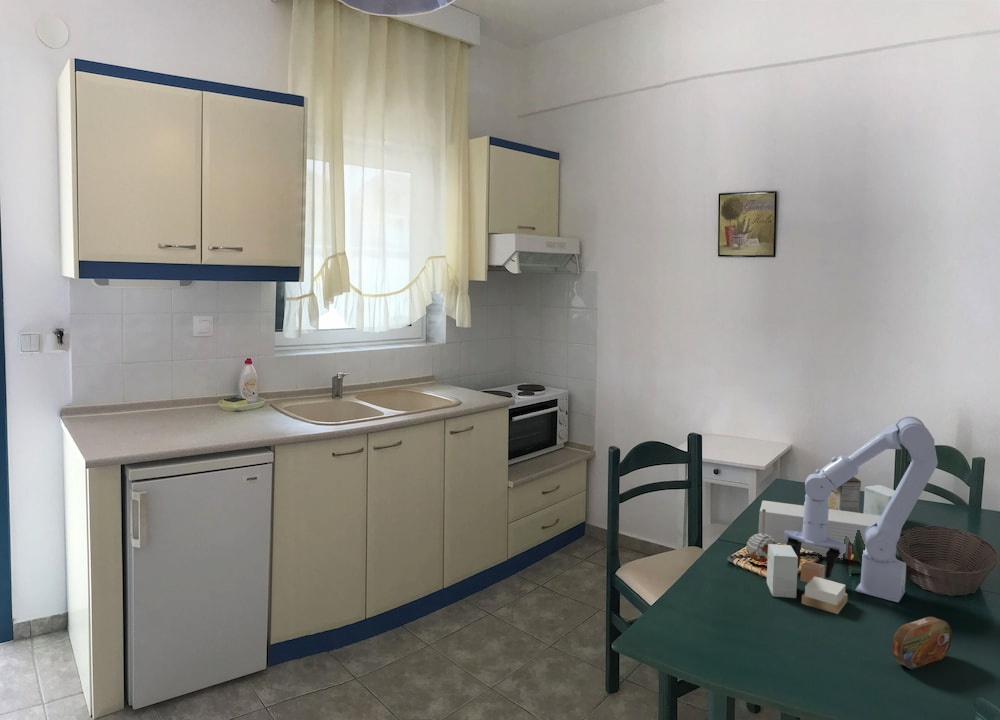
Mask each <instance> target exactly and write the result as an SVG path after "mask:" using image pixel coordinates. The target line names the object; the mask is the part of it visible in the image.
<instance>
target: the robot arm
mask: <svg viewBox="0 0 1000 720" xmlns="http://www.w3.org/2000/svg"><path fill="white" fill-rule="evenodd" d="M901 445H902V446H903V447H904V448H905V449H906V450H907V451H908V453H909V456H910V457H911V462H910V464H909V465H908V467H907V468H906V469H905V470H906V471H905V472H904V474H903V475H902V478H901V479H900V482H899V483H898V485H897V487H896V489H895V492H894V494H893V496H892V497H891V499H890V501H889V503H888V505H887V506H886V508H885V510H884V512H883V514H882V515H881V516H880V517H878V518H877V520H876V522H875V523H874V524H873V525H871V526H870V527H868V528H867V529H866V531H865V533H864V538H865V541H866V544H867V546H866V549H865V550H863V554H862V562H861V568H860V569H861V571H860V572H861V573H860V583H858V585H857V586H856V588H855V591H856V592H858V593H861V594H865V595H868V596H871V597H872V596H873V597H876V598H880V599H882V600H883V599H884V600H887V601H891V602H895V603H899V602H900V601H901V599H902V598H903V596H904V594H905V592H906V577H907V563H906V562H905V561H901V560H899V559H897V557H896V554H897V544H898V541H900V537H901V531H902V528H903V527H904V526H905V523H906V521H907V519H908V518H909V516H910V514H911V513H912V510H913V509H914V507H915V505H916V503H918V500H919V498H920V496H921V495H922V493H923V491H924V490H925V488H926V486H927V485H928V482H929V481H930V480H931V479H930V478H931V477H932V475H933V474H934V472H935V470H936V469H937V467H938V464H939V463H938V456H937V451H936V445H935V438H934V436H933V435H932V434H931V432H930V431H929V429H928V428H927V427H926V426H925V424H924V423H923V421H922V420H921V419H919V418H917V417H915V416H910V415H909V416H904V417H902V418H900V419H899V420H898V421H897V422H896V423H895V422H893V423H892V424H889V425H888V426H887V427H886V428H884V429H883V430H881V431H880V432H878V433H877V434H876V435H874V437H872V438H871V439H869V440H868V441H867V442H866V443H865V444H863V445H862V446H861V447H859V448H858V449H856V450H855V451H854V452H852V453H851V454H850V455H839V456H838V457H837V456H836V455H835V456H833V457H832V458H830V460H831V461H830V462H829V463H827V464H826V465H825V466H824V467H822V468H821V469H820V468H817V469H816V470H815V473H811V474H809V475H807V477H806V479H805V481H804V490H805V494H804V500H805V501H804V503H803V506H804V514H803V532H795V531H789V530H786V531H785V532H784V539H786V540H788V542H787V543H786V544H787V545H791V547H792V548H793V550H794V552H795V553H796V555H797V557H798V569H799V568H800V567H801V566H800V565H801V553H800V550H801V544H802V543H806V544H808V545H815V546H819V547H823V548H827V549H829V551H827V553H826V558H825V559H826V566H825V578H827V579H830V578H831V576H832V573H833V569H834V566H835V565H836V562H837V560H838V559H837V558H838V557H839V555H840V554H841V553H843V554H844V553H845V552H846V544H844V543H841V542H838V541H835V540H832V539H830V538H827V529H828V512H829V505H828V498H829V496H830V494H831V490H833V489H836V488H838V487H839V486H841V485H842V484H844V483H845V482H847V481H848V480H850V479H851V478H852V477H856V476H857V475H858V472H859V467H861V466H862V465H864V464H865V463H867V462H868V461H870V460H871V459H873V458H875V457H877V456H878V455H880V454H881V453H884V452H885V451H887V450H902V446H901ZM903 525H904V526H903Z"/></svg>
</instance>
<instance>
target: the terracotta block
mask: <svg viewBox="0 0 1000 720" xmlns="http://www.w3.org/2000/svg"><path fill="white" fill-rule="evenodd" d="M825 574H826V565H825V564H820V563H816V562H813V561H809V560H806V561H805V562H804V563H803V564H802V565H801V566H800V577H799V578H800V580H799V581H800V582H804V583H807V584H808V583H809V582H810V581H811V580H812V579H813V578H814V577H819V578H822V579H825Z"/></svg>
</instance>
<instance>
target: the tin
mask: <svg viewBox="0 0 1000 720" xmlns="http://www.w3.org/2000/svg"><path fill="white" fill-rule="evenodd" d="M952 631H953V630H952V628H951V625H950V624H949V622H947V621H946V620H944V619H940V618H937V617H935V616H927V617H922V618H919V619H917V620H914V621H911V622H907V623H903V624H902V625H900V627H898V628H897V630H896V631H895V633H894V635H893V639H892V646H891V647H892V649H891V650H892V656H893V658H894V660H895V662H897V663H898V664H900V665H902V666H904V667H906V668H908V669H910V670H914V669H913V668H915V667H919V666H922V665H925V666H927V665H926V664H928V663H931V662H934V661H937V662H939V661H941V660H942V659H944V658H945V657H946V655H947V654H948V652H949V651H950V648H951V645H952V641H953V633H952ZM938 660H939V661H938ZM934 663H935V662H934ZM931 664H932V663H931ZM928 665H929V664H928ZM922 667H923V666H922Z"/></svg>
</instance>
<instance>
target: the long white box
mask: <svg viewBox="0 0 1000 720" xmlns="http://www.w3.org/2000/svg"><path fill="white" fill-rule="evenodd" d="M762 509H766V511H765V532H764V534H766V535H769V536H771V537H772V538H773V539H774V540H775V541H776V543H781V544H786V543H787V542H788V540H786V539H784V532H785V531H786V530H789V531H795V532H803V514H804V505H803V504H802V505H801V504H793V503H785V502H778V501H771V500H770V501H769V500H762V501H761V506H760V509H759V516H758V517H759V518H758V534H760V533H761V530H762ZM878 517H880V516H879V515H871V514H864V512H863V513H861V512H859V513H856V512H848V511H841V510H832V509H829V512H828V529H827V538H830V539H832V540H835V541H838V542H841V543H844V539H845V536H847V537H848V538H849V540H850V542H851V543H852V544H853V543H854V540H855V536H856V533H857V530H860V533H861V536H862V539H863V541H864V544H865V549H866V546H867V544H866V541H865V538H864V533H865V531H866V529H867V528H868V527H870V526H871V525H873V524H874V523H875V522H876V520H877V518H878ZM801 548H803V549H806V550H810V551H813V552H816V553H819V554H821V555H822V556H821V557H826V553H827V551H829V549H827V548H823V547H819V546H815V545H808V544H806V543H802V544H801ZM838 558H840V559H839V560H842V559H841V558H843V553H841V554H840V555H839V557H838Z"/></svg>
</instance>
